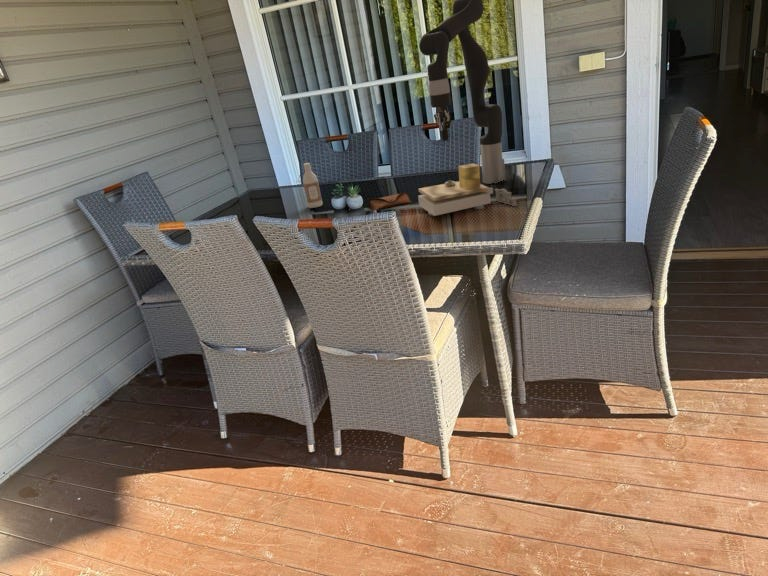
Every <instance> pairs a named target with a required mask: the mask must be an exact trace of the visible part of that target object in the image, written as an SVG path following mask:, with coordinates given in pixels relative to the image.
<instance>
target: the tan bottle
mask: <svg viewBox="0 0 768 576" xmlns="http://www.w3.org/2000/svg"><path fill="white" fill-rule="evenodd" d="M311 166H312V165H311V163H310V162H305V163H303V169H304V174H303V176H302V184H303V189H304V194H305V198H306V202H307V206H308V208H310V209H313V208H318V207H319V208H320V207H322V206H323V199H322V193H321V189H320V185H319V180H318V177H317V175H316V174H315V173H314V172H313V171H312V168H311Z"/></svg>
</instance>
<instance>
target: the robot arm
mask: <svg viewBox="0 0 768 576" xmlns="http://www.w3.org/2000/svg"><path fill="white" fill-rule="evenodd" d="M483 3H484V2H483V0H454V1H453V2H452V4H451V5H452V6H451V12H452V13H451V14H452V15H451V16H449V17H447V18H446V19H444V20H443V21H442V22H441V23H440V24H438V25H437V27H434V28H432V29H431V30H430V31H429V30H428V32H426V33H424V34H423V35H422V36H421V38H420V39H419V42H418V47H419V51H420V53H421V54H422V55H423V56H427V57H429V56H434V55H436V59H435V61H432V62H430V63H428V65H427V68H426V69H427V77H428V92H429V93H428V94H429V101H430V107H431V108H434V109H435V113H434V114H433V118H434V121H435V124H436V126H437V128H438V129H439V131H440V134H441V135H440V136H441V141H443V142H445V141H448V140H449V131H448V130H449V129H450V128H451V122H452V115H451V114H450V112H449V108H448V106H450V105H451V104H452V99H451V91H450V90H451V88H450V82H449V78H448V77H449V75H448V69H447V64H448V56H449V50H450V43H451V42H452V41H453V40H454V39H455V38H456V37H458V39H459V43H460V48H461V52H462V57H463V61H464V68H465V71H466V77H467V80H468V86H469V90H470V97H471V105H472V114H473V120H474V122H475V125H476V126H477V127H479V128H487V133H486V134H485V135H484V134H483V135H482V136H480V138H479V146H480V147H479V148H480V163H481V174H482V177H481V178H482V183H483V184H485V185H489V184H490V185H491V184H492V183H494V184H499V183H501V182H500V181H502V182H504V181H506V167H505V165H506V164H505V159H504V158H503V149H502V136H503V113H502V109H501V106H500V105H498V104H497V103H493V104H486V101H485V87H486V84H487V82H488V79H489V75H490V65H489V60H488V57H487V54H486V52H485V50H484V49H483V48H482V46H481V45H480V44H479V43H478V42H477V41H476V40H475V38H474V37H473V36H472V35H473V34H472V33H471V31H470V28H469V26H470V25H472V24H474V23H475V22H478V21H479V20H480V19H481V18H482V17H483V14H484V4H483ZM503 180H504V181H503ZM498 182H499V183H498ZM492 185H493V184H492Z"/></svg>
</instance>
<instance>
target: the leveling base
mask: <svg viewBox="0 0 768 576" xmlns="http://www.w3.org/2000/svg"><path fill="white" fill-rule="evenodd" d="M492 194H494V188H493V187H489V188H488V189H487V191H484V192H478V193H473V194H468V195H463V196H457V197H452V198H447V199H442V200H436V201H433V200H431V199H430V198H428V197H427V196H425V195H423V194H420V195H418V196H417V197H418V204H419V205H418V206H420V207H421V208H422V209H424V210H425V211H427V213H428V215H427V216H433V217H436V216H441V215H444V214H448V213H449V214H450V213H453V212H457V211H461V210H466V209H472V208H474V210H476V209H481V210H484V209H485V205H488V204H492V201H491V200H492V199H491V198H492V197H491V195H492ZM483 208H484V209H483Z"/></svg>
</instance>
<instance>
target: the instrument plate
mask: <svg viewBox="0 0 768 576" xmlns="http://www.w3.org/2000/svg"><path fill="white" fill-rule="evenodd" d="M457 167H458V181H454V180H451V179H449V180H447V181H445V182H444V183H441V184H437V185H430V186H424V187H421V188H419V187H418V192H419V193H420V194H421V195H425V196H427V197H428V198H430V199H431V200H433V201H436V200H442V199H447V198H452V197H457V196H463V195H468V194H473V193H478V192H484V191H487V189H488V188H490V187H489V186H486V185H484V184H482V183H481V173H480V171H481V170H480V169H481V168H480V165H478V164H476V163H469V164H468V163H466V164H462V165H458V166H457Z"/></svg>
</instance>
